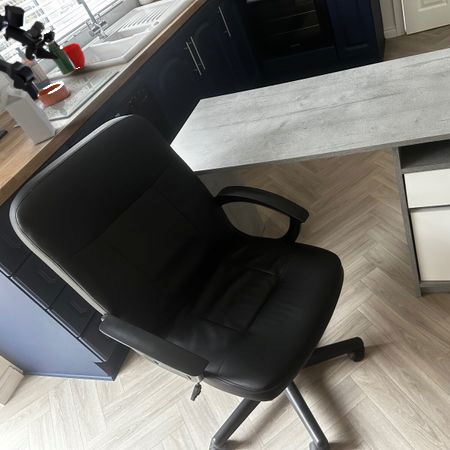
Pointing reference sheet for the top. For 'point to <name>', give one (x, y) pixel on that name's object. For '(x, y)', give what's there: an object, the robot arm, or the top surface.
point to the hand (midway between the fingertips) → (61, 55)
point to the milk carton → (28, 115)
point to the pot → (53, 94)
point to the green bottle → (61, 58)
